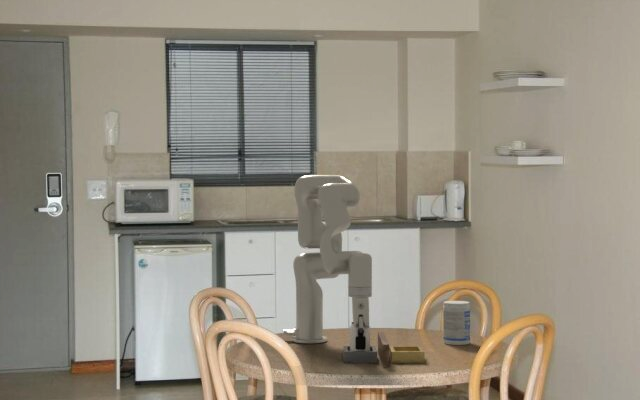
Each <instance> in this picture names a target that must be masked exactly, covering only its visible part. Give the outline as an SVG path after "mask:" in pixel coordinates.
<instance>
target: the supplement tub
mask: <svg viewBox="0 0 640 400" xmlns="http://www.w3.org/2000/svg"><path fill="white" fill-rule="evenodd" d="M442 304H443V305H442V342H443V343H444V344H446V345H450V346H466V345H469V344H470V343H471V306H470V305H471V304H470V301H468V300H467V301H466V300H446V301H443V303H442Z"/></svg>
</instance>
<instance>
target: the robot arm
mask: <svg viewBox="0 0 640 400" xmlns="http://www.w3.org/2000/svg"><path fill="white" fill-rule="evenodd" d="M293 191H294V192H293V193H294V198H295V202H296V206H297V241H298V245H299V246H300V247H301V248H302V249H307V250H319V252H318V251H317V252H303V253H300V254H298V255H296V256H295V257H294V260H293V272H294V279H295V302H296V303H295V307H296V308H295V312H296V313H295V317H296V318H295V320H296V321H295V322H296V323H295V328H293V329H283V336H292V337H291V341H292V342H293V343H298V344H320V343H321V344H322V343H326V342H327V341H328V338H327V336H324V315H323V314H324V310H323V309H324V308H323V307H324V305H323V304H324V297H323V296H324V294H323V293H324V291H323V289H322V286H320V284H319V283H318V281H317V280H326V279H335V278H338V277H339V276H340V275H348V295H347V296H348V297H350V298H352V299H351V303H352V304H351V307H352V310H351V311H352V312H351V313H352V322H353V323H354V327H355V328H356V349H357V350H364V349H366V337H365V326H366V327H367V328H369V326H370V300H369V298H371V297H372V295H373V291H372V290H373V287H372V285H373V274H372V273H373V272H372V271H373V269H372V268H373V265H372V264H373V258H372V255H371V254H369V253H364V252H362V251H359V250H343V249H342V248H343V244H342V243H343V234H342V233H343V232H344V231H345V232H346V230H347V229H348V228H349V227H350V226H351V224H352V220H351V218H350V214H349V213H350V212H349V211H348V210H349V209H348V208H355V207H357V206H358V205H359V203H360V199H361V197H360V191H359V188H358V187H357V185H356V184H355V183H354V182H353V181H351V180H349V179H348V178H345V177H344V176H342V175H338V174H309V175H303V176H300V177H299V178H298V179H296V182H295V185H294V190H293ZM322 219H323V220H322ZM357 323H358V326H359V327H357ZM363 325H364V327H363Z"/></svg>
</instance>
